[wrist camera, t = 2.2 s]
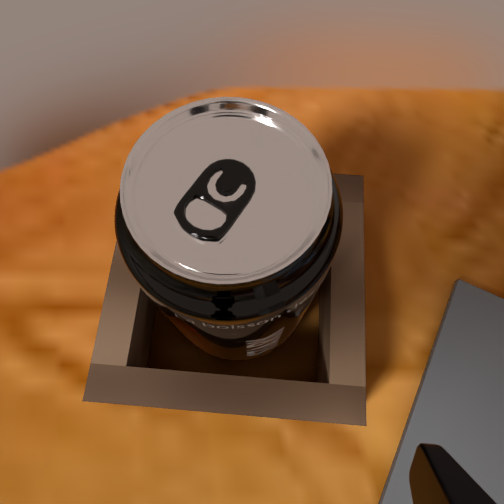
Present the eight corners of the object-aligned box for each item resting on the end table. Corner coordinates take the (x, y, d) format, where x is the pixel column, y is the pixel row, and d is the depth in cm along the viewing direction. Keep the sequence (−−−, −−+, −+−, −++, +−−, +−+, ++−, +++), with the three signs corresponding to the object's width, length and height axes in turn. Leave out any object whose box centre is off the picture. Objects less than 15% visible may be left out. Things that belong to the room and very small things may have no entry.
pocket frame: (347, 423, 20) (366, 426, 17) (109, 402, 20) (82, 400, 17) (347, 207, 24) (363, 175, 21) (149, 192, 24) (133, 159, 21)
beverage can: (148, 315, 22) (38, 217, 11) (221, 216, 24) (195, 44, 13) (258, 390, 21) (267, 369, 9) (326, 278, 23) (401, 149, 11)
